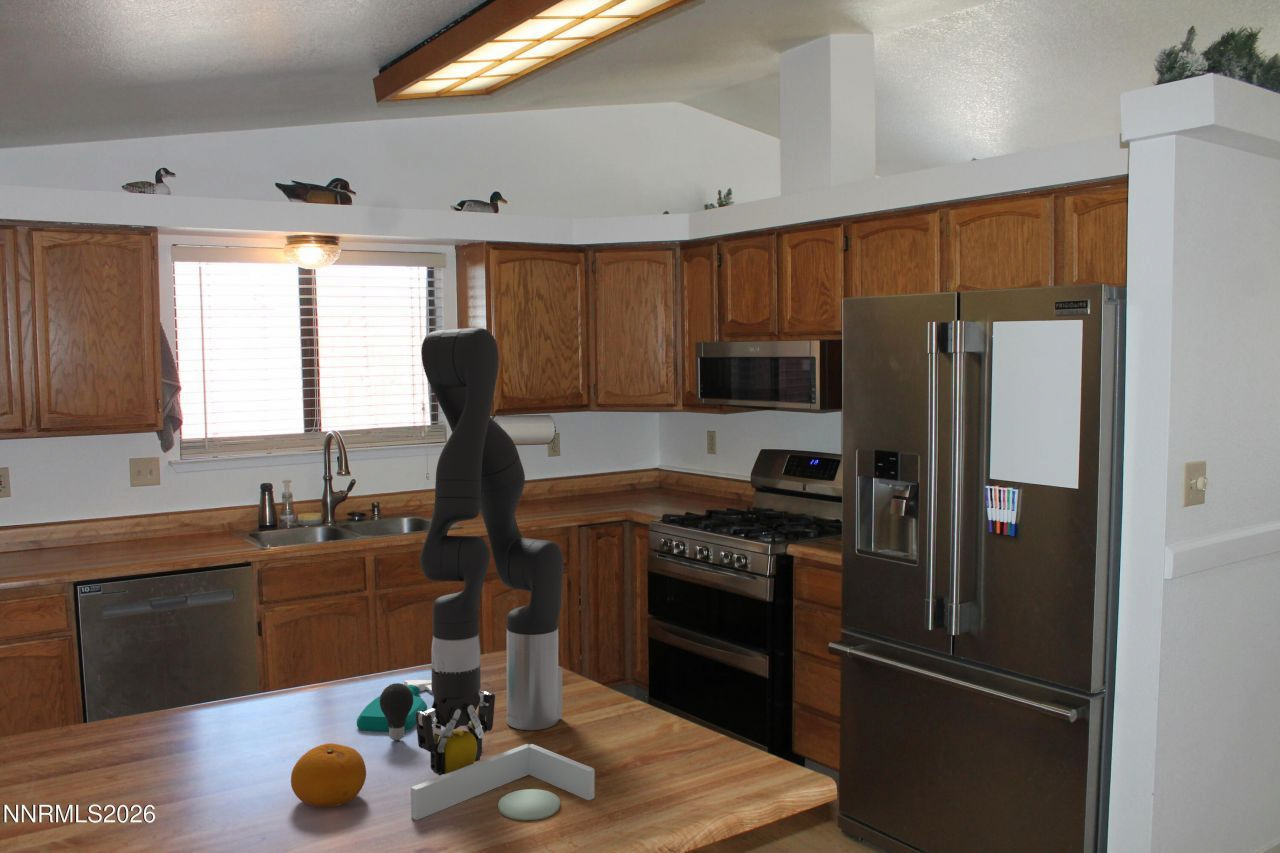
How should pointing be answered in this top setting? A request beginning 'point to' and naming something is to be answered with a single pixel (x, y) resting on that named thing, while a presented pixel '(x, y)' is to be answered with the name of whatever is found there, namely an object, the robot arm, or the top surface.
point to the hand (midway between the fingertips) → (456, 766)
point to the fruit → (328, 775)
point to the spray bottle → (376, 719)
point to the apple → (459, 751)
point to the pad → (529, 804)
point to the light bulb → (396, 708)
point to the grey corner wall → (501, 778)
